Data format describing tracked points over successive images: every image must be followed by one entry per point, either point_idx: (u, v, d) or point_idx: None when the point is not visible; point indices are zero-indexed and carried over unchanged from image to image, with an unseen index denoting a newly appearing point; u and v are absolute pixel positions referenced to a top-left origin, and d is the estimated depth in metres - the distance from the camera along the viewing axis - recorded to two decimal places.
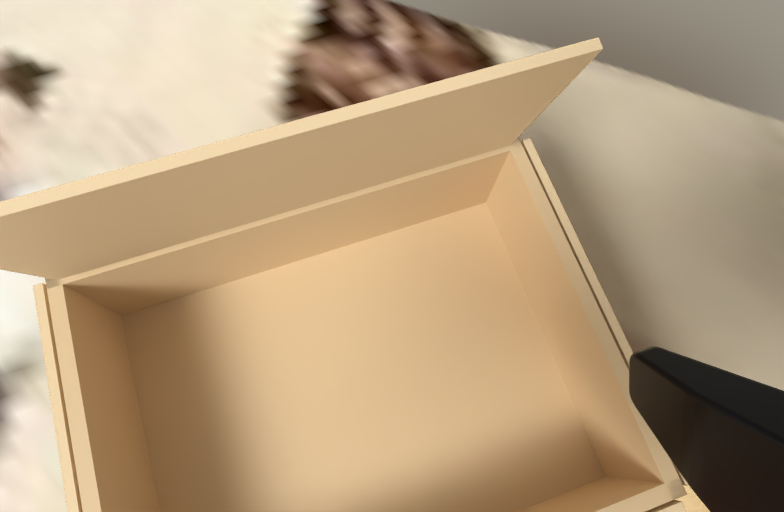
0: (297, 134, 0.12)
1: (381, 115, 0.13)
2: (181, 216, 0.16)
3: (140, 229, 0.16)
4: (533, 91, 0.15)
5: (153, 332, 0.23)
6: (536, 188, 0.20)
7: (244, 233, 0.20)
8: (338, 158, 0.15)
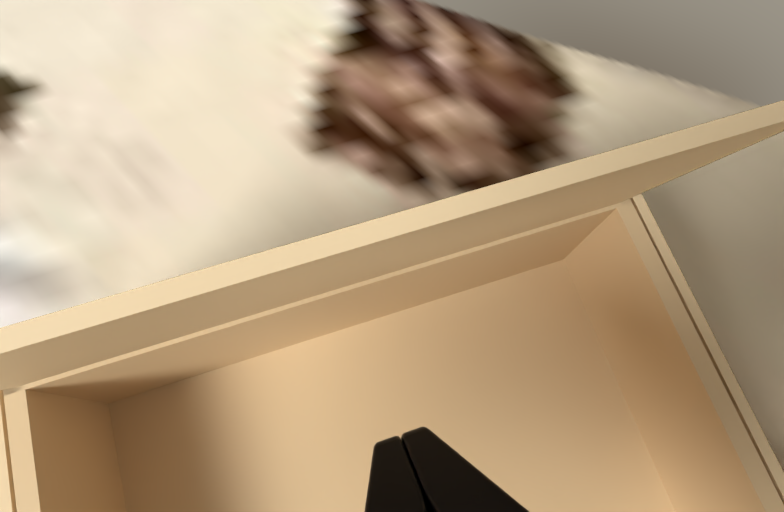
0: (380, 240, 0.07)
1: (509, 205, 0.08)
2: (187, 324, 0.11)
3: (127, 342, 0.11)
4: (711, 154, 0.10)
5: (147, 425, 0.18)
6: (652, 260, 0.15)
7: (269, 317, 0.15)
8: (419, 248, 0.10)
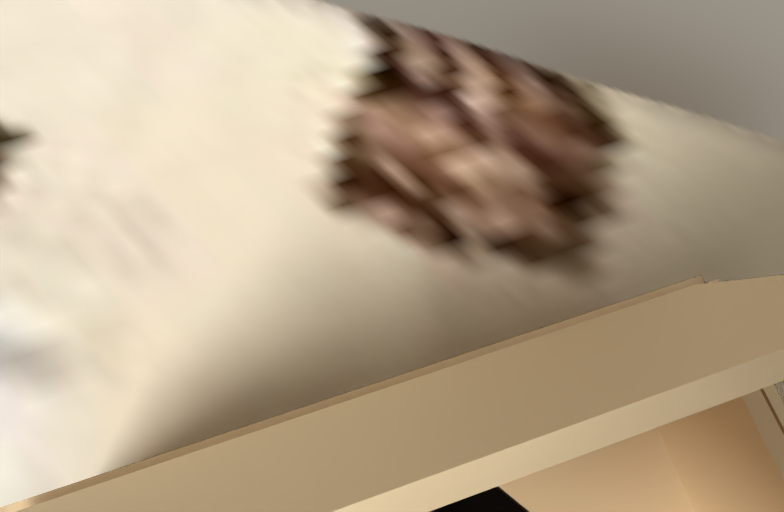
0: (484, 488, 0.05)
1: (649, 419, 0.06)
2: None
3: None
4: None
5: None
6: None
7: None
8: None
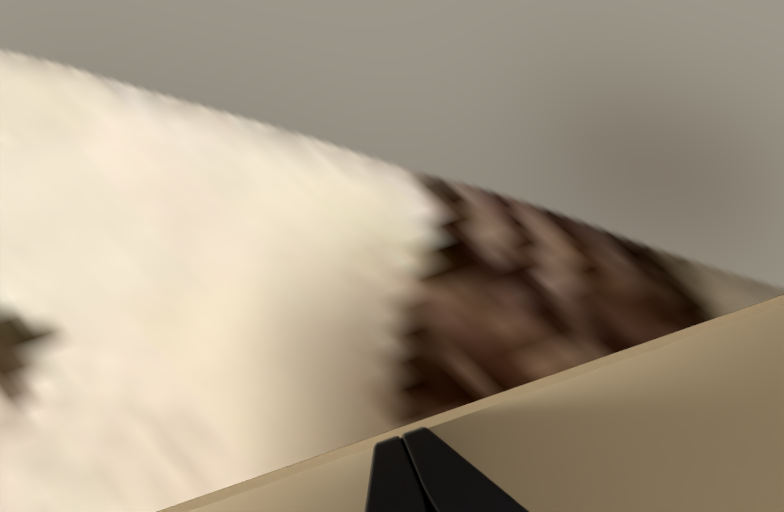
0: None
1: (542, 407, 0.09)
2: None
3: None
4: (782, 396, 0.10)
5: None
6: None
7: None
8: None
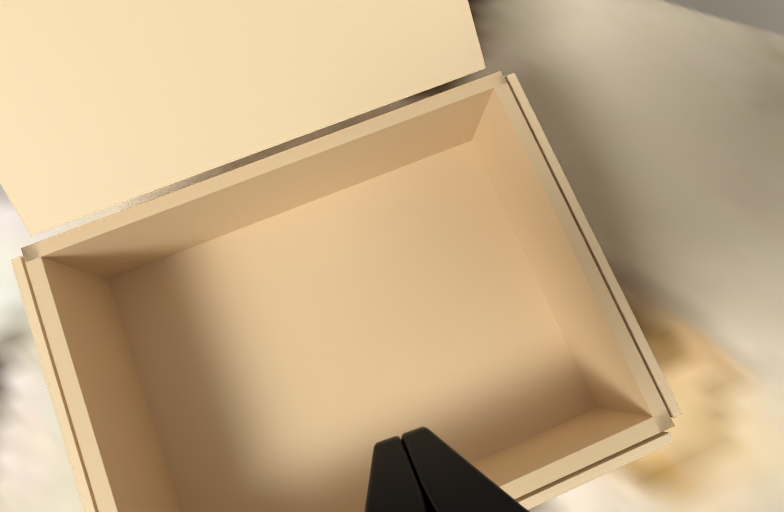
0: None
1: None
2: (132, 84, 0.17)
3: (96, 102, 0.17)
4: None
5: (141, 294, 0.22)
6: (522, 127, 0.19)
7: (222, 192, 0.19)
8: None
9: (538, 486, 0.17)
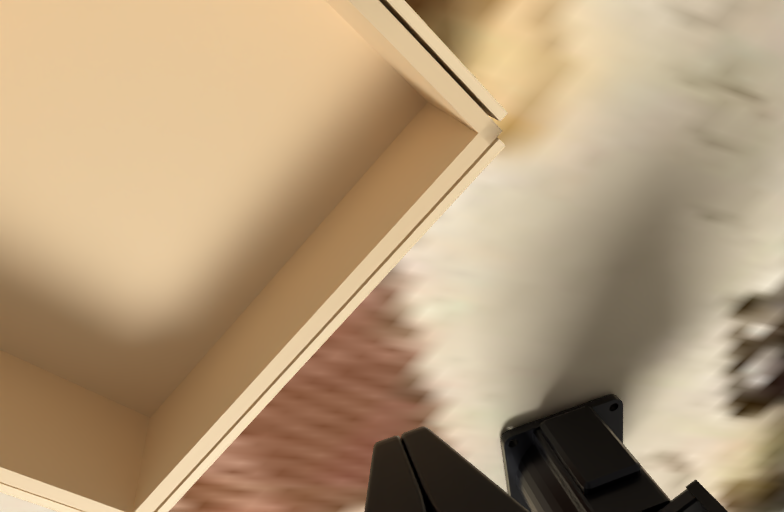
0: None
1: None
2: None
3: None
4: None
5: None
6: None
7: None
8: None
9: (388, 252, 0.16)
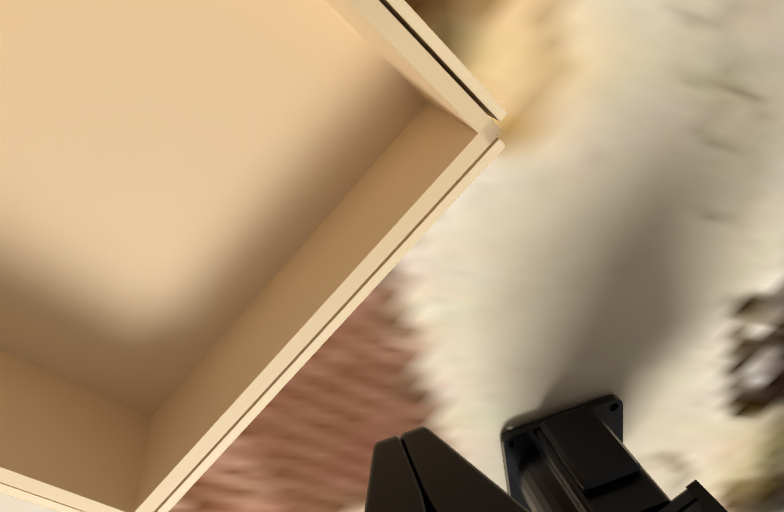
0: None
1: None
2: None
3: None
4: None
5: None
6: None
7: None
8: None
9: (388, 252, 0.16)
